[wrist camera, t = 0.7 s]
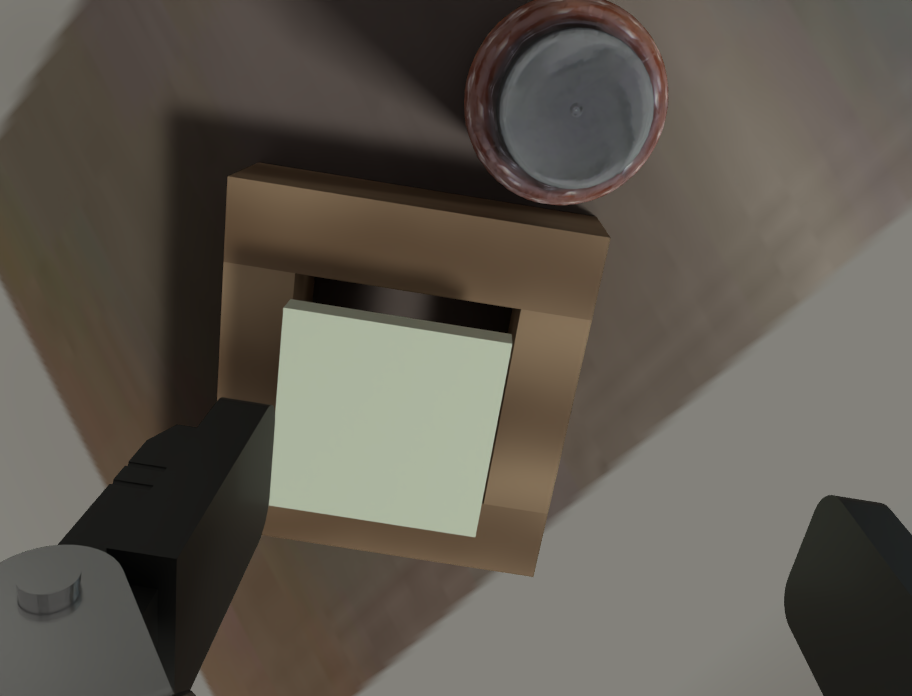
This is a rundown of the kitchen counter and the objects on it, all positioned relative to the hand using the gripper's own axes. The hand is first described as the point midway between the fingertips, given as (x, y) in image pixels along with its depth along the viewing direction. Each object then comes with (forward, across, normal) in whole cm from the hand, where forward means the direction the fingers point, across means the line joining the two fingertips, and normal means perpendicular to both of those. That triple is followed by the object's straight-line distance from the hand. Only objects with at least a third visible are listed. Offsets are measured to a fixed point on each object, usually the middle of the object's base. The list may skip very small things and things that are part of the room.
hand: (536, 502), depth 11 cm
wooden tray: (+22, +3, +8) cm, 23 cm away
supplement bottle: (+22, -1, -4) cm, 23 cm away
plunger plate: (+16, +3, +7) cm, 18 cm away
